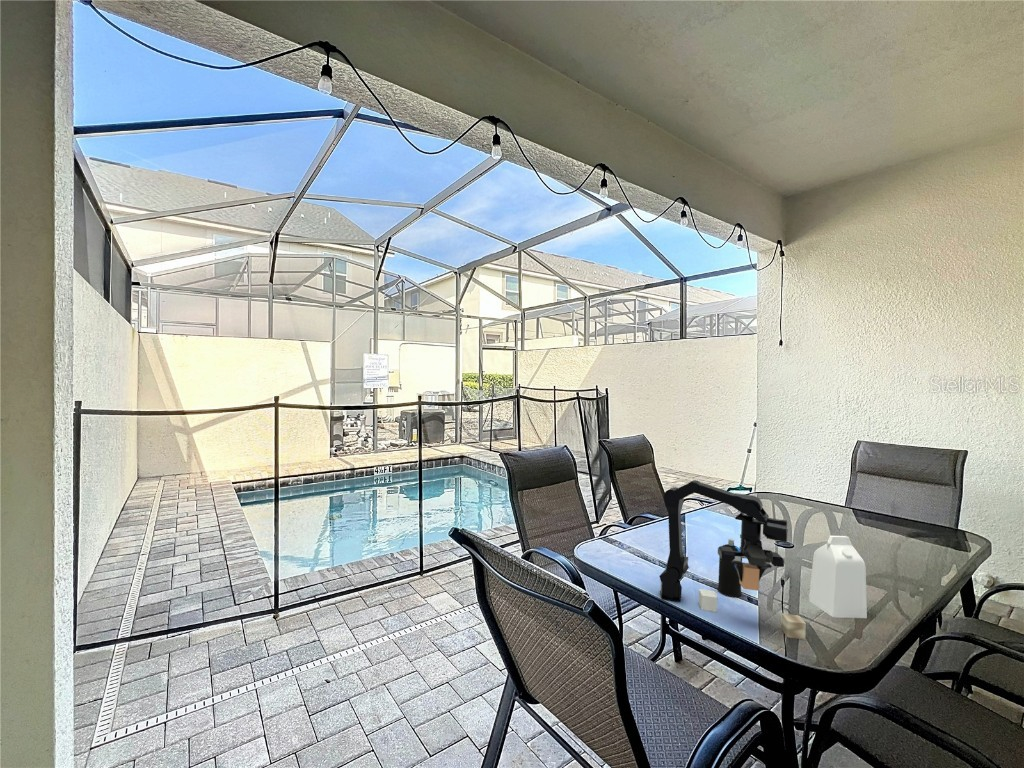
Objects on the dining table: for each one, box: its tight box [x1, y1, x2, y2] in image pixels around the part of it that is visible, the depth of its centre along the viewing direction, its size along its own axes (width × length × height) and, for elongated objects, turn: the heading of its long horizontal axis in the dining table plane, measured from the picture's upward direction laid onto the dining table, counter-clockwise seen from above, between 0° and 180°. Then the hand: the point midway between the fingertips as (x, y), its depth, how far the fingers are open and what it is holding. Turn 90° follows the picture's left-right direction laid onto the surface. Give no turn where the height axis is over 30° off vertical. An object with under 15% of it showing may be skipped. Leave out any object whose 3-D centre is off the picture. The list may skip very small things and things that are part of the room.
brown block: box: [739, 561, 760, 592], centre depth 142 cm, size 4×4×7 cm
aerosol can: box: [717, 538, 743, 598], centre depth 162 cm, size 8×8×20 cm
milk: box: [808, 535, 868, 619], centre depth 153 cm, size 12×12×26 cm
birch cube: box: [780, 612, 807, 641], centre depth 135 cm, size 5×5×5 cm
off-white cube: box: [698, 588, 718, 613], centre depth 150 cm, size 5×5×5 cm
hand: (748, 581), depth 142 cm, fingers closed on brown block, 4 cm apart
